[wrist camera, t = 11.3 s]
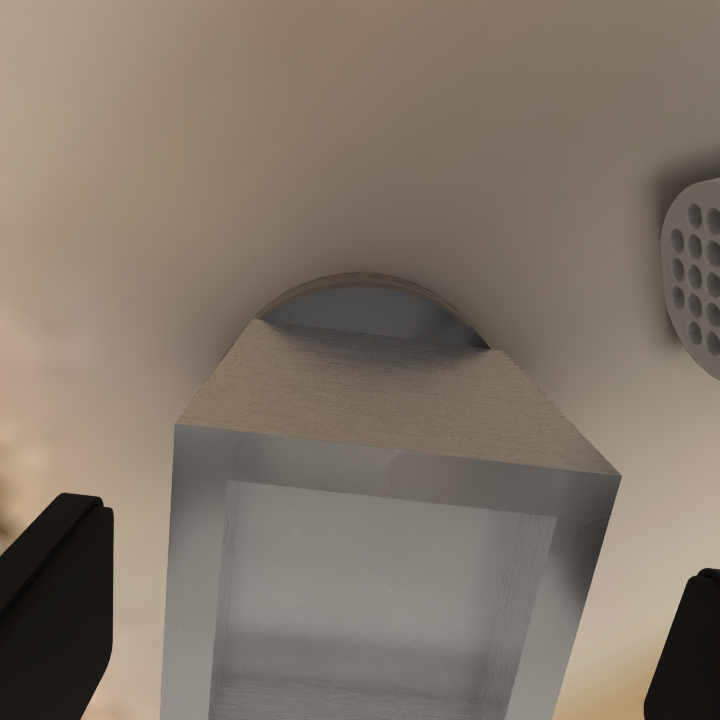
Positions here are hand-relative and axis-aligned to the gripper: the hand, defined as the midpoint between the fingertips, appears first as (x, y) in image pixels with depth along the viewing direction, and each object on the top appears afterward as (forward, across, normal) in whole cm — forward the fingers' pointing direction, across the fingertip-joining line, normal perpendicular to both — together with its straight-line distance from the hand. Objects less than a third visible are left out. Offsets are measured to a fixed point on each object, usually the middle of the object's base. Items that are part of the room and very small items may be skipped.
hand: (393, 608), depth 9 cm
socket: (+7, 0, +1) cm, 7 cm away
